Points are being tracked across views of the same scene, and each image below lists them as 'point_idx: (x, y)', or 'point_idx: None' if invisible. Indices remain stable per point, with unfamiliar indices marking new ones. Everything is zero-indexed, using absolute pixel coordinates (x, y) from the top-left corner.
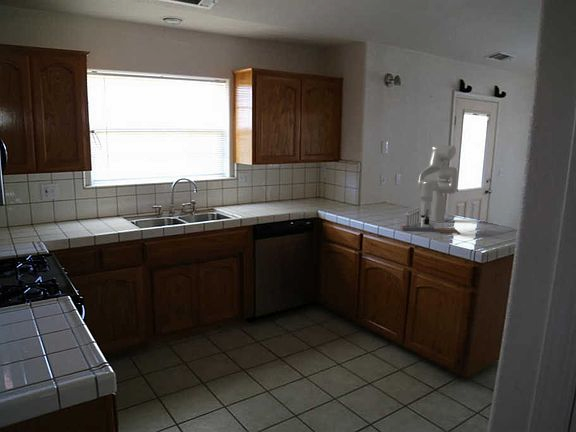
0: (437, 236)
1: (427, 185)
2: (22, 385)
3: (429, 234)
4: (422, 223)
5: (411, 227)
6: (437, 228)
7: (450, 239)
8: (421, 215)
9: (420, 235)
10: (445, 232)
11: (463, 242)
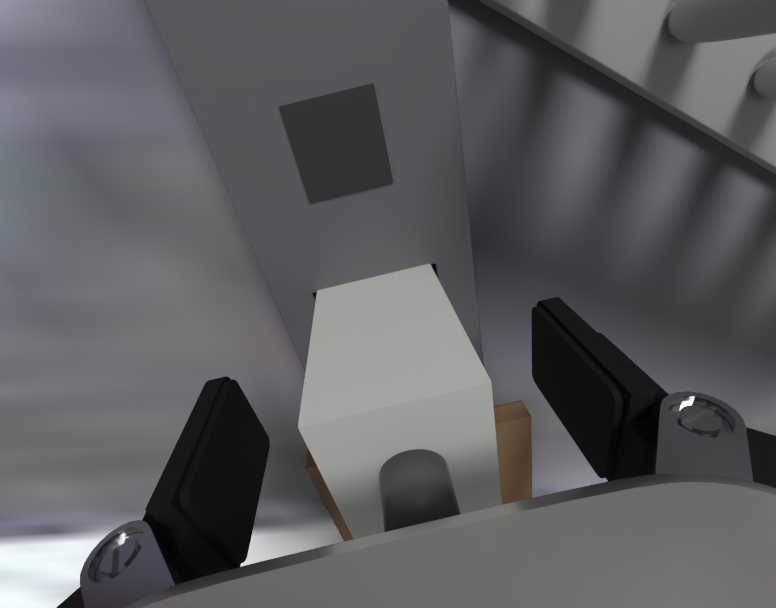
0: (154, 432)
1: None
2: None
3: (214, 353)
4: (311, 335)
5: (160, 30)
6: (504, 431)
7: (95, 526)
8: (700, 397)
9: (51, 238)
10: (323, 498)
11: (54, 592)
